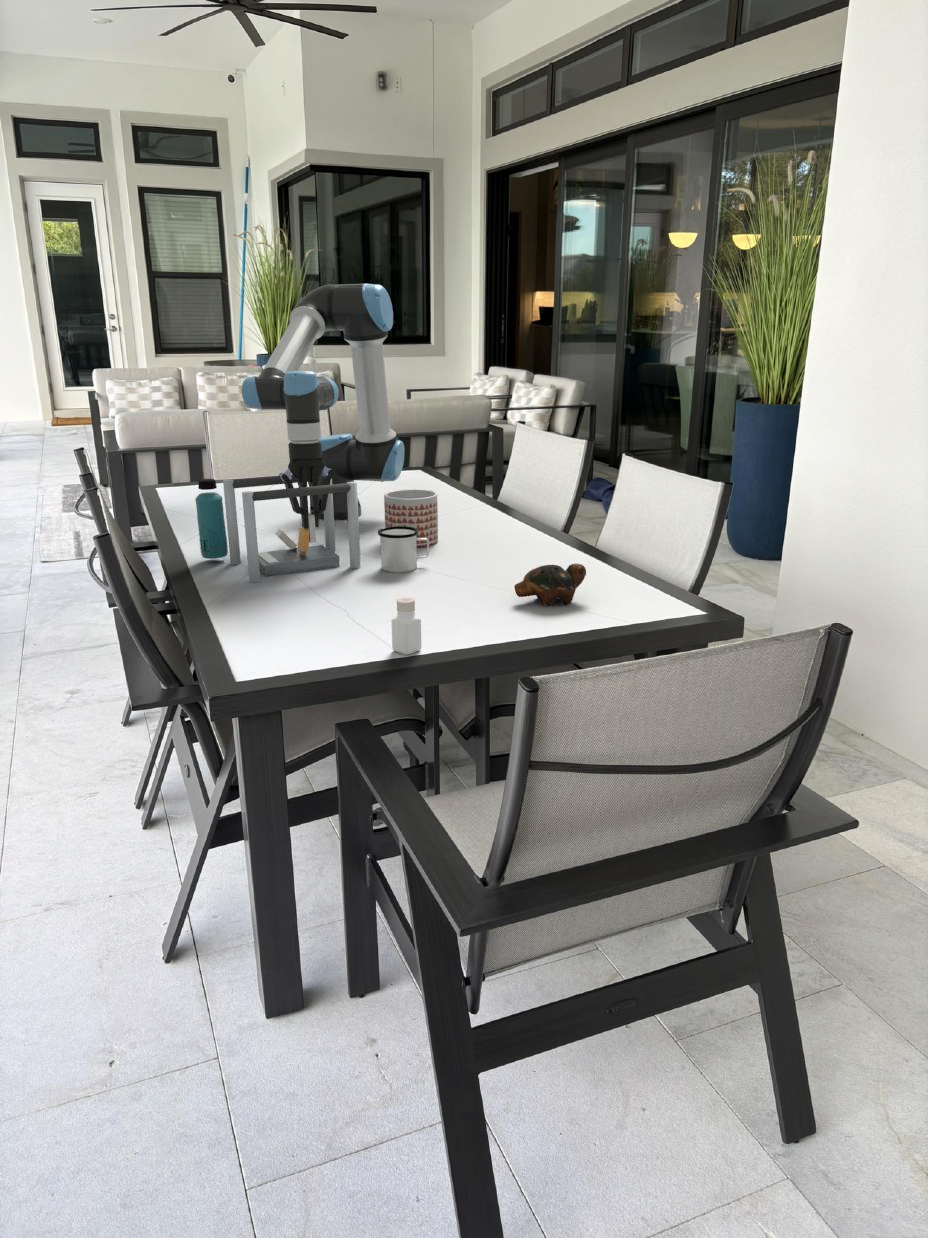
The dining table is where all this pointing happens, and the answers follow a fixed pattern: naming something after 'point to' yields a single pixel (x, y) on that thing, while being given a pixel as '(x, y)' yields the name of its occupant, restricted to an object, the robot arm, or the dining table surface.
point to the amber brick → (303, 540)
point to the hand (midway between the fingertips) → (311, 541)
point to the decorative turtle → (552, 583)
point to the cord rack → (278, 494)
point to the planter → (413, 512)
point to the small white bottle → (406, 627)
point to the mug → (399, 548)
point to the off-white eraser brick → (286, 539)
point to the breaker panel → (296, 560)
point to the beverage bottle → (211, 521)
